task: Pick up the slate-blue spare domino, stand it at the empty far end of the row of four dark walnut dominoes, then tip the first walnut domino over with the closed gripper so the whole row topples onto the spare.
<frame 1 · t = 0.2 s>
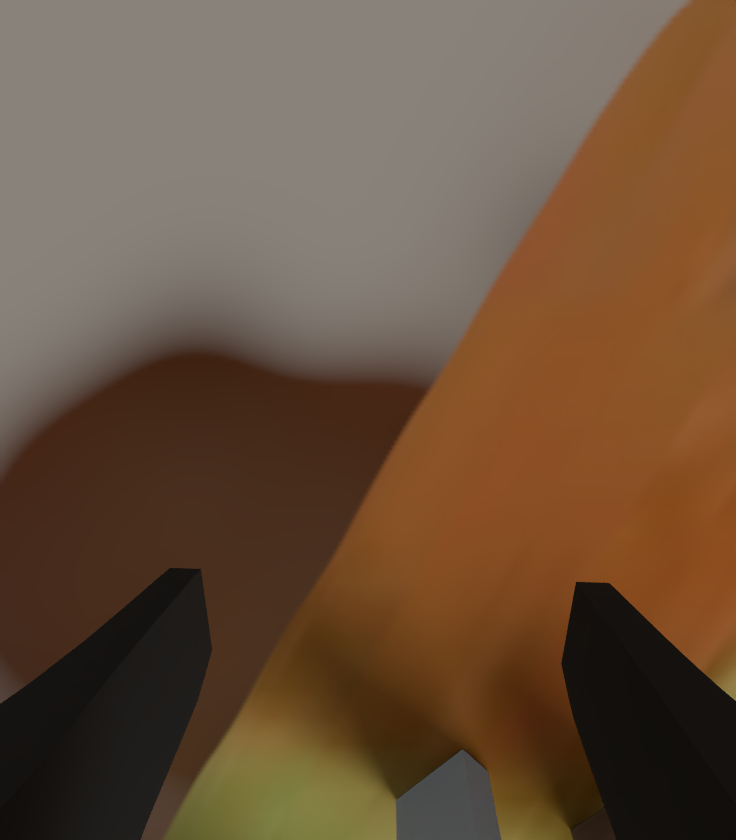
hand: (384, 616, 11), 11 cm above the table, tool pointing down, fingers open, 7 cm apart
domino 4: (617, 816, 25), on the table
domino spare: (441, 785, 25), on the table
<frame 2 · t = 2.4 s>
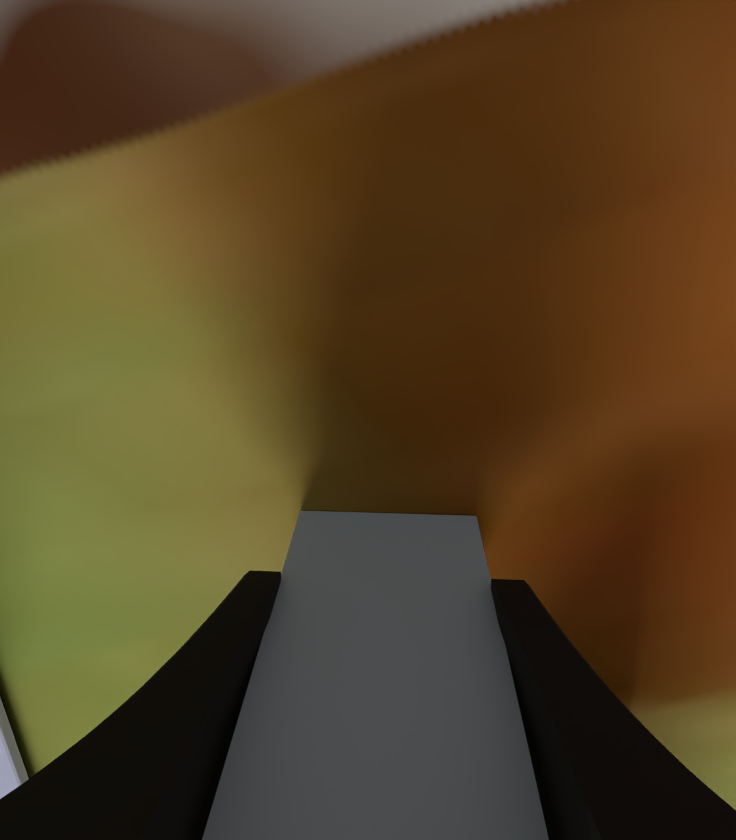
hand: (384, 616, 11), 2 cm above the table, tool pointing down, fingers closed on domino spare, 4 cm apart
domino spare: (387, 542, 13), on the table, touching gripper
when the fingers open (3 cm above the table, at t = 5.3 s): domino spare stays where it is, on the table.
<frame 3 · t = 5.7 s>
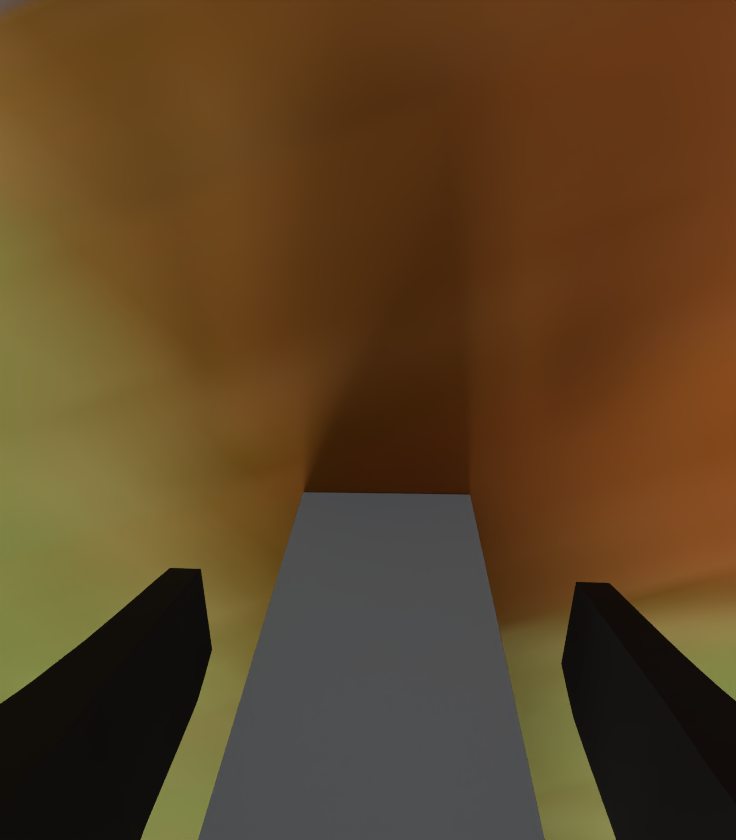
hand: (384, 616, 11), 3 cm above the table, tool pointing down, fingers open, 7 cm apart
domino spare: (386, 521, 14), on the table
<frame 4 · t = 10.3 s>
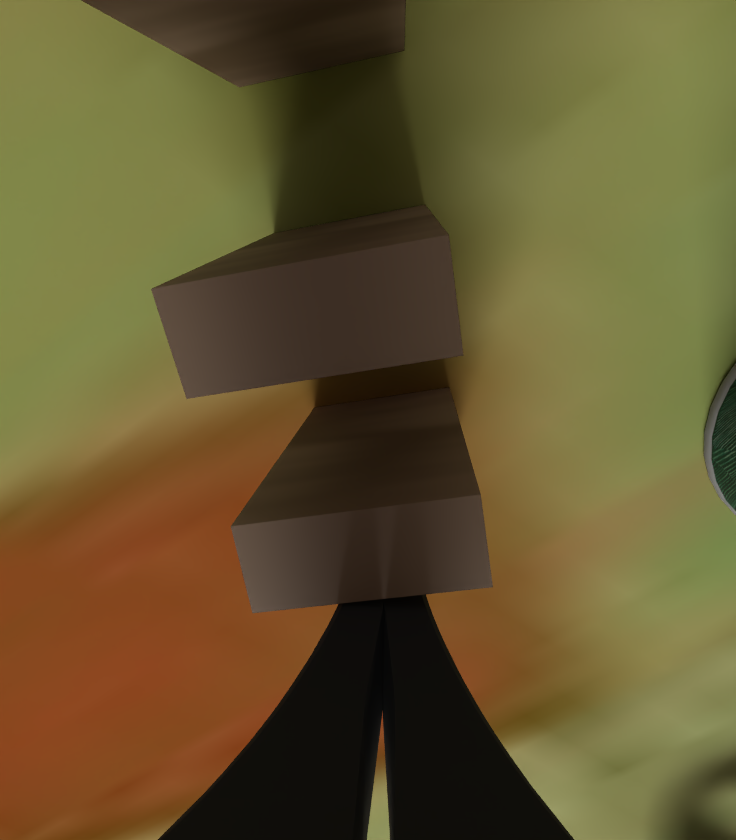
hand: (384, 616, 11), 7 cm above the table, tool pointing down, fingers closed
domino 2: (353, 250, 15), on the table
domino 1: (385, 423, 17), on the table, tilted 8°
domino 3: (313, 29, 13), on the table
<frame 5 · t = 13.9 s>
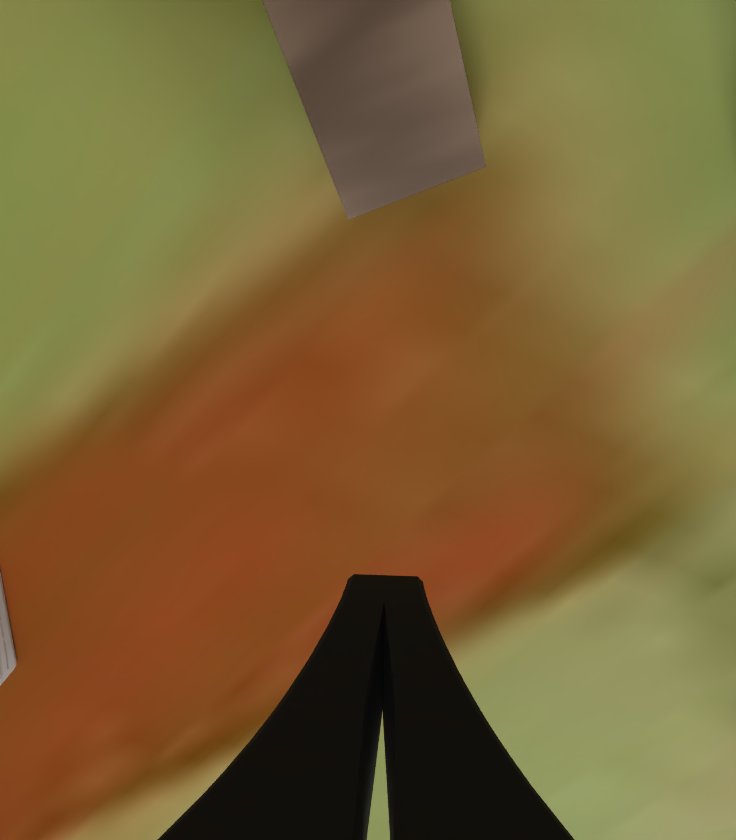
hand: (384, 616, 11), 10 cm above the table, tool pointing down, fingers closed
domino 1: (412, 184, 16), point 1 cm above the table, tilted 72°, touching domino 2
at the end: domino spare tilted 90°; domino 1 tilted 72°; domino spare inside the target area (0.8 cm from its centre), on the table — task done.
